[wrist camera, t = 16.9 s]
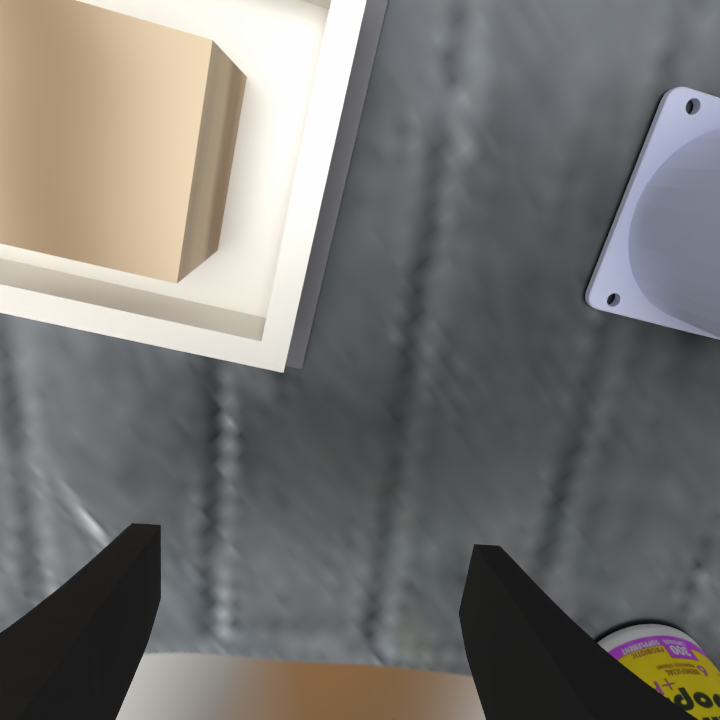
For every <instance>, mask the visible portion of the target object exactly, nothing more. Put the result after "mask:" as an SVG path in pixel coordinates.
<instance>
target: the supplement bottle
mask: <svg viewBox="0 0 720 720" xmlns="http://www.w3.org/2000/svg"><path fill="white" fill-rule="evenodd" d="M598 644H599V645H600V646H601V647H602V648H603V649H605V650H606V651H607V652H608V653H609V654H610V655H612V656H613V657H614V658H615V659H616V660H618V661H619V662H620V663H621V664H623V665H624V666H625V667H627V668H628V669H629V670H630V671H632V672H633V673H634V674H635V675H637V676H638V677H639V678H640V679H642V680H643V681H644V682H646V683H647V684H648V685H650V686H651V687H652V688H654V689H655V690H656V691H658V692H659V693H661V694H662V695H663V696H665V697H666V698H668V699H669V700H671V701H672V702H673V703H675V704H676V705H678V706H679V707H681V708H682V709H683V710H685V711H686V712H688V713H689V714H691V715H692V716H694V717H695V718H697V719H698V720H720V672H719V671H718V670H717V668H716V667H715V666H714V664H713V663H712V662H711V661H710V659H709V658H708V657H707V655H706V654H705V653H704V652H703V650H702V649H701V648H700V647H699V646H698V644H697V643H696V642H695V641H694V640H693V639H692V638H690V637H689V636H688V635H687V634H685V633H683V632H682V631H680V630H678V629H675V628H673V627H669V626H666V625H660V624H641V625H635V626H631V627H627V628H624V629H621V630H618V631H616V632H614V633H612V634H610V635H608V636H606V637H605V638H603V639H602V640H600V641H599V642H598Z"/></svg>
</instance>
